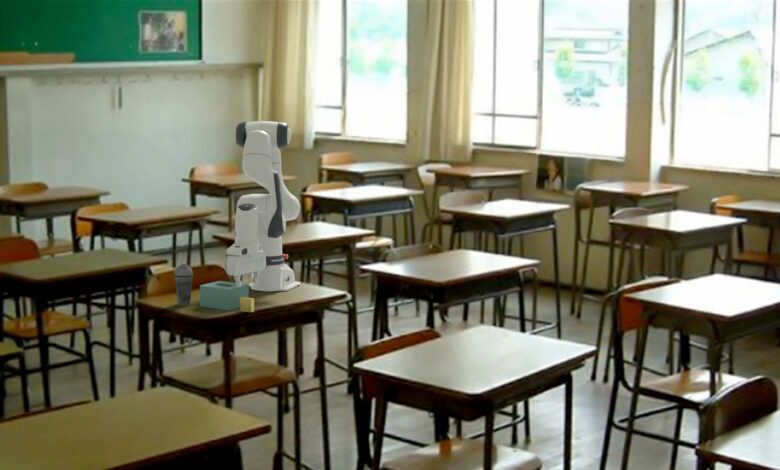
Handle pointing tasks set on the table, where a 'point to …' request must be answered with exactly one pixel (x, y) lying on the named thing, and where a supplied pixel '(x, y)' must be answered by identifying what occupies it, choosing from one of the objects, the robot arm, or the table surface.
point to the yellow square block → (247, 304)
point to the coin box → (222, 295)
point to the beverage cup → (183, 283)
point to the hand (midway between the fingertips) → (246, 284)
